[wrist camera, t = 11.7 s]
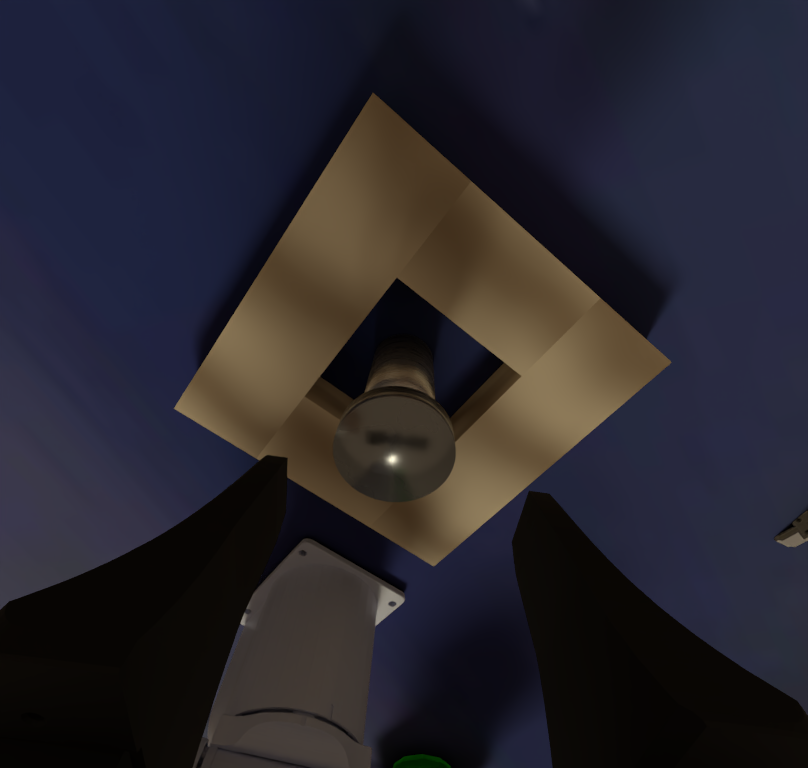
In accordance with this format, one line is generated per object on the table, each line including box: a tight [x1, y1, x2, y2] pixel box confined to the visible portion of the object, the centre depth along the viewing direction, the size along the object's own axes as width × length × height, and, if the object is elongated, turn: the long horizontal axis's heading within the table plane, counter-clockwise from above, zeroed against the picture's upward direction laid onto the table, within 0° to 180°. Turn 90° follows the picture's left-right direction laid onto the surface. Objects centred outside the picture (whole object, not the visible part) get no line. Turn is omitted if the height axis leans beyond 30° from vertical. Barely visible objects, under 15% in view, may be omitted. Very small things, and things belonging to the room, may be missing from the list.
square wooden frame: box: [174, 93, 671, 566], centre depth 21 cm, size 16×16×2 cm
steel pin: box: [333, 334, 456, 502], centre depth 19 cm, size 4×4×8 cm
